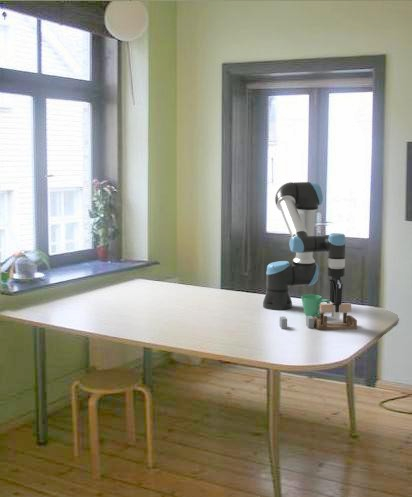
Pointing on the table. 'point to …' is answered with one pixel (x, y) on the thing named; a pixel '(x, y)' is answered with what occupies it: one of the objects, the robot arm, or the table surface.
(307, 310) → the mug
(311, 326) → the grey blocks
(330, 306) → the clay strip
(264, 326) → the table surface
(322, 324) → the rack
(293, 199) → the robot arm
